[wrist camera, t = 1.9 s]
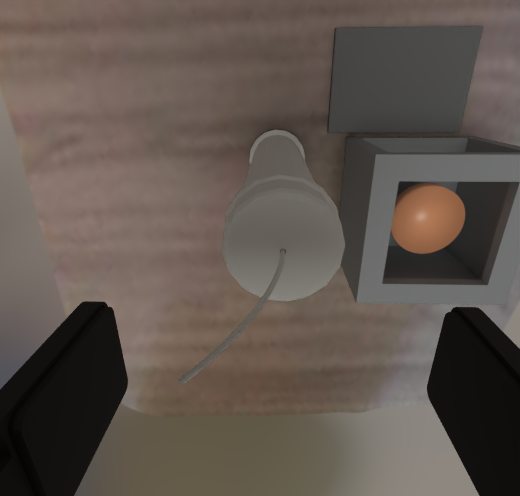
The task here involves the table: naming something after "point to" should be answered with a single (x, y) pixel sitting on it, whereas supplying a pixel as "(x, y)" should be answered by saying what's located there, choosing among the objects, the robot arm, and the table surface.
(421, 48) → the mat
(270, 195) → the grey cylindrical piece
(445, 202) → the button
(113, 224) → the table surface
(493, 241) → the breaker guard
